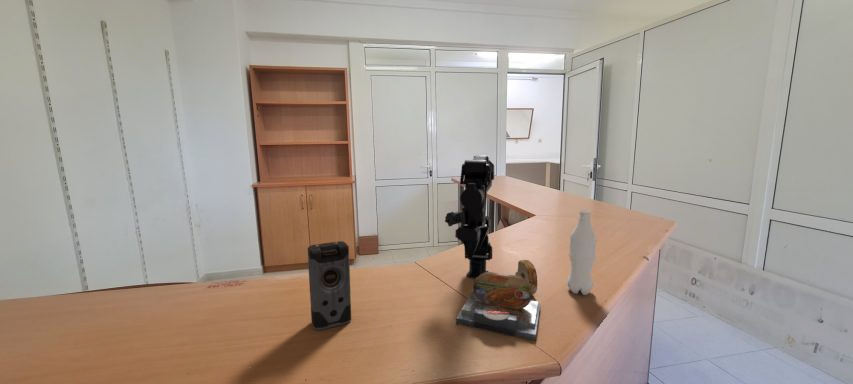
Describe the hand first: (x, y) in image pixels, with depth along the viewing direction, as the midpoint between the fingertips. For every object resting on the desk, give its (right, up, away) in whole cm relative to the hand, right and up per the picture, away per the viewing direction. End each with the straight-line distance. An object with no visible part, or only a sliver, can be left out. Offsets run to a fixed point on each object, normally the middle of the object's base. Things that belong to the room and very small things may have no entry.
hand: (473, 254), depth 98 cm
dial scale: (+5, -14, -12) cm, 19 cm away
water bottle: (+33, -12, +2) cm, 35 cm away
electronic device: (-38, -15, -15) cm, 43 cm away
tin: (+6, -11, -11) cm, 17 cm away
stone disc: (+16, -12, +2) cm, 20 cm away
